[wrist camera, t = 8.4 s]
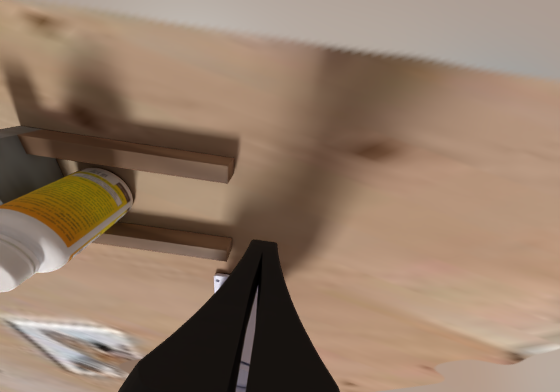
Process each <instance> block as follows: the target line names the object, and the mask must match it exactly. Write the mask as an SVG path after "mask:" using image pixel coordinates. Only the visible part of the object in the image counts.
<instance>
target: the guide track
mask: <svg viewBox="0 0 560 392" xmlns="http://www.w3.org/2000/svg"><path fill="white" fill-rule="evenodd" d="M56 158H58V159H65V160H71V161H78V162H85V163H92V164H98V165H105V166H112V167H119V168H125V169H132V170H139V171H145V172H152V173H159V174H166V175H172V176H179V177H186V178H193V179H199V180H206V181H213V182H220V183H226V184H228V182H229V181H230V179H231V177H232V176H233V173H234V158H230V157H223V156H217V155H210V154H203V153H197V152H190V151H184V150H177V149H170V148H164V147H157V146H150V145H144V144H137V143H131V142H124V141H117V140H111V139H104V138H98V137H91V136H84V135H78V134H71V133H64V132H58V131H51V130H45V129H38V128H31V127H25V126H16V127H11V128H5V129H0V205H3V204H5V203H8V202H10V201H12V200H14V199H17V198H19V197H21V196H23V195H26V194H28V193H30V192H32V191H34V190H37V189H39V188H41V187H43V186H46V185H48V184H50V183H52V182H55V181H57V180H59V179H61V178H64V177H63V175H62V172H61V170H60V168H59V165H58V163H57V161H56ZM92 243H98V244H105V245H112V246H119V247H127V248H134V249H141V250H148V251H155V252H162V253H169V254H176V255H184V256H191V257H198V258H205V259H212V260H219V261H226V262H227V259H228V257H229V254H230V251H231V246H232V238H227V237H220V236H213V235H206V234H199V233H192V232H185V231H178V230H171V229H164V228H157V227H150V226H143V225H136V224H129V223H122V222H116V223H115V224H113V225H112V226H111V227H110V228H109V229H107V230H106V231H105V232H104V233H103V234H101V235H100V236H99V237H98V238H96V239H95V240H94V241H93V242H92Z"/></svg>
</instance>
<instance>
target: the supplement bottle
mask: <svg viewBox="0 0 560 392" xmlns="http://www.w3.org/2000/svg"><path fill="white" fill-rule="evenodd" d="M132 204H133V198H132V194H131V191H130V189H129V188H128V186H127V185H126V184H125V182H124V181H123V180H121V179H120V178H119V177H118V176H116V175H115V174H113V173H111V172H109V171H107V170H104V169H100V168H86V169H82V170H80V171H77V172H75V173H73V174H70V175H68V176H66V177H64V178H61V179H59V180H57V181H55V182H52V183H50V184H48V185H46V186H43V187H41V188H39V189H37V190H34V191H32V192H30V193H28V194H26V195H23V196H21V197H19V198H17V199H14V200H12V201H10V202H8V203H5V204H3V205H0V292H7V291H11V290H13V289H14V288H16V287H17V286H18V285H20V284H21V283H22V282H24V281H25V280H26V279H28V278H30V277H31V276H32V275H33V274H35V273H46V272H51V271H55V270H57V269H59V268H61V267H62V266H64V265H65V264H66V263H67V262H69V261H70V260H71V259H72V258H73V257H75V256H76V255H77V254H78V253H80V252H81V251H82V250H83V249H84V248H86V247H87V246H88V245H89V244H90V243H92V242H93V241H94V240H95V239H96V238H98V237H99V236H100V235H101V234H103V233H104V232H105V231H106V230H107V229H109V228H110V227H111V226H112V225H113V224H115V223H116V222H117V221H118V220H119V219H120V218H122V217H123V216H124V215H125V214H126V213H128V211H129V210H130V209H131V207H132Z"/></svg>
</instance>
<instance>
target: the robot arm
mask: <svg viewBox="0 0 560 392" xmlns="http://www.w3.org/2000/svg"><path fill="white" fill-rule="evenodd" d="M118 392H340V391H339V388H338V386H337V384H336V382H335V381H334V379H333V378H332V376H331V375H330V373H329V371H328V370H327V368H326V367H325V365H324V363H323V362H322V360H321V358H320V357H319V355H318V353H317V351H316V350H315V348H314V346H313V344H312V342H311V340H310V338H309V337H308V335H307V333H306V331H305V329H304V327H303V325H302V323H301V321H300V319H299V316H298V314H297V312H296V310H295V307H294V305H293V303H292V300H291V297H290V295H289V292H288V289H287V286H286V283H285V280H284V277H283V273H282V270H281V266H280V261H279V256H278V248H277V243H275V242H268V241H261V240H254V239H253V240H252V241H251V243H250V245H249V247H248V249H247V251H246V252H245V254H244V256H243V257H242V259H241V260H240V262H239V263H238V265H237V266H236V268H235V269H234V270H233V272H232V273H231V274H230V275H227V274H220V273H217V274H215V275H214V295H213V296H212V297H211V298H210V299H209V300H208V301H207V302H206V303H205V304H204V305H203V306H202V307H201V308H200V309H199V310H198V311H197V312H196V313H195V314H194V315H193V316H192V317H191V318H190V319H189V320H188V321H187V322H186V323H184V324H183V325H182V326H181V327H180V328H179V329H178V330H177V331H175V332H174V333H173V334H172V335H171V336H170V337H169V338H167V339H166V340H165V341H164V342H163V343H161V344H160V345H159V346H158V347H156V348H155V349H154V350H153V351H151V352H150V353H149V354H147V355H146V356H145V357H144V358H142V359H141V360H140V361H139V362H138V364H137V365H136V366H135V368H134V369H133V370H132V372H131V373H130V374H129V376H128V377H127V379H126V380H125V382H124V383H123V385H122V386H121V388H120V389H119V391H118Z"/></svg>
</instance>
